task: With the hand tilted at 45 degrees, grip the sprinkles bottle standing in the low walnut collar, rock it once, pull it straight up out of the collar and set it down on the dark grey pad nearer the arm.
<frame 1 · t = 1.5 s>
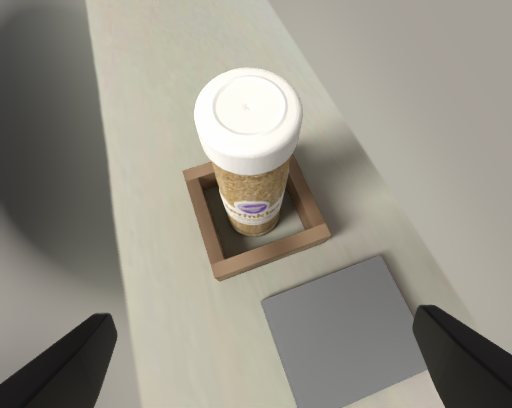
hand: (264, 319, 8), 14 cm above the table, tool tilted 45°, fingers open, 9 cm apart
pad: (342, 330, 20), on the table
sprinkles bottle: (254, 212, 24), resting in collar
collar: (254, 211, 24), on the table
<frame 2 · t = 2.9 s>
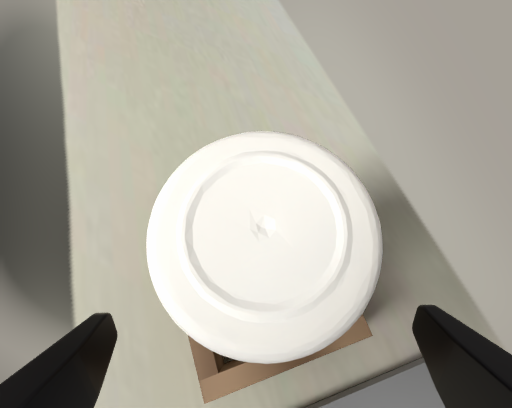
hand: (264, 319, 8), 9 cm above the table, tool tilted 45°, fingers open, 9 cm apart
sprinkles bottle: (260, 284, 18), resting in collar
collar: (260, 284, 18), on the table
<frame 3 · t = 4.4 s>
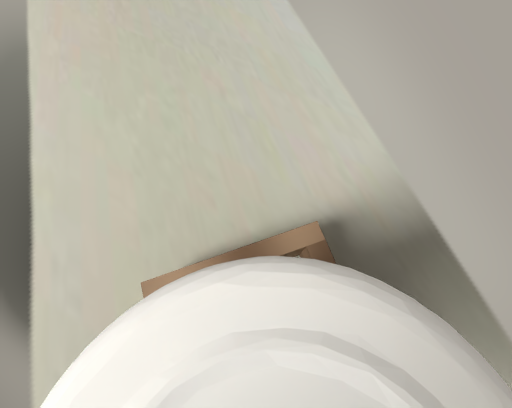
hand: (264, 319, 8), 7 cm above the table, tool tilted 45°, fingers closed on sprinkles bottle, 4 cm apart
sprinkles bottle: (262, 340, 14), resting in collar, touching gripper
collar: (262, 341, 14), on the table
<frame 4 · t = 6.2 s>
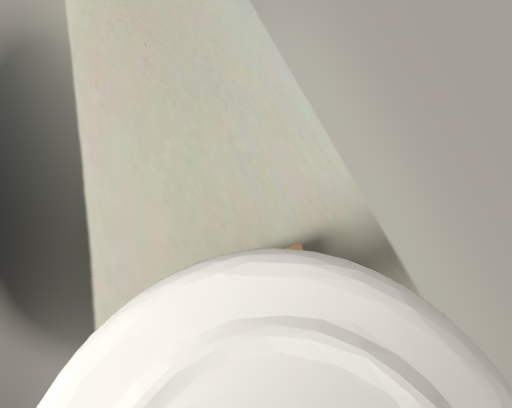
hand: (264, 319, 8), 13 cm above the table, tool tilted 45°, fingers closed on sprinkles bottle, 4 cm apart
sprinkles bottle: (262, 343, 14), point 6 cm above the table, touching gripper
when the fingers open (8 cm above the table, at t = 8.3 s): sprinkles bottle stays where it is, resting on pad.
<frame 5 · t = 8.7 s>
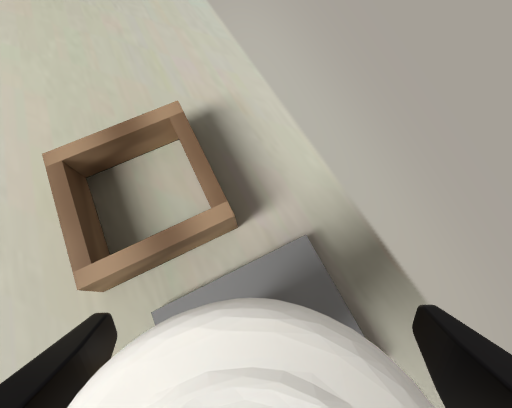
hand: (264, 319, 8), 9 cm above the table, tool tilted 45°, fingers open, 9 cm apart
pad: (262, 337, 16), on the table
sprinkles bottle: (260, 345, 15), point 1 cm above the table, touching pad
collar: (149, 198, 19), on the table
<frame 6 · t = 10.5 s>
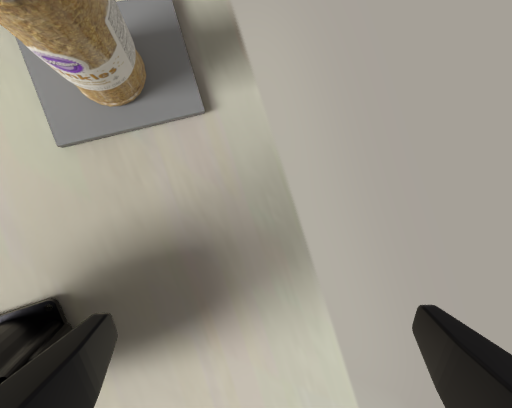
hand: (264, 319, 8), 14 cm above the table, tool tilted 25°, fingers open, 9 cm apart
pad: (117, 72, 19), on the table
sprinkles bottle: (112, 74, 19), point 1 cm above the table, touching pad
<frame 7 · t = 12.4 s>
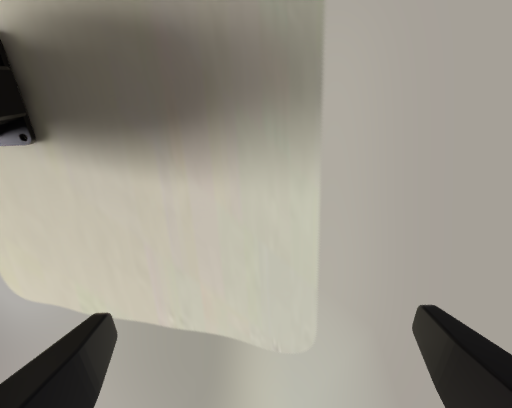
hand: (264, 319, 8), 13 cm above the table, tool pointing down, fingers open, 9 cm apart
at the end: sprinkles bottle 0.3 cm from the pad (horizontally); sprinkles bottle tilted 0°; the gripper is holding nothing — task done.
